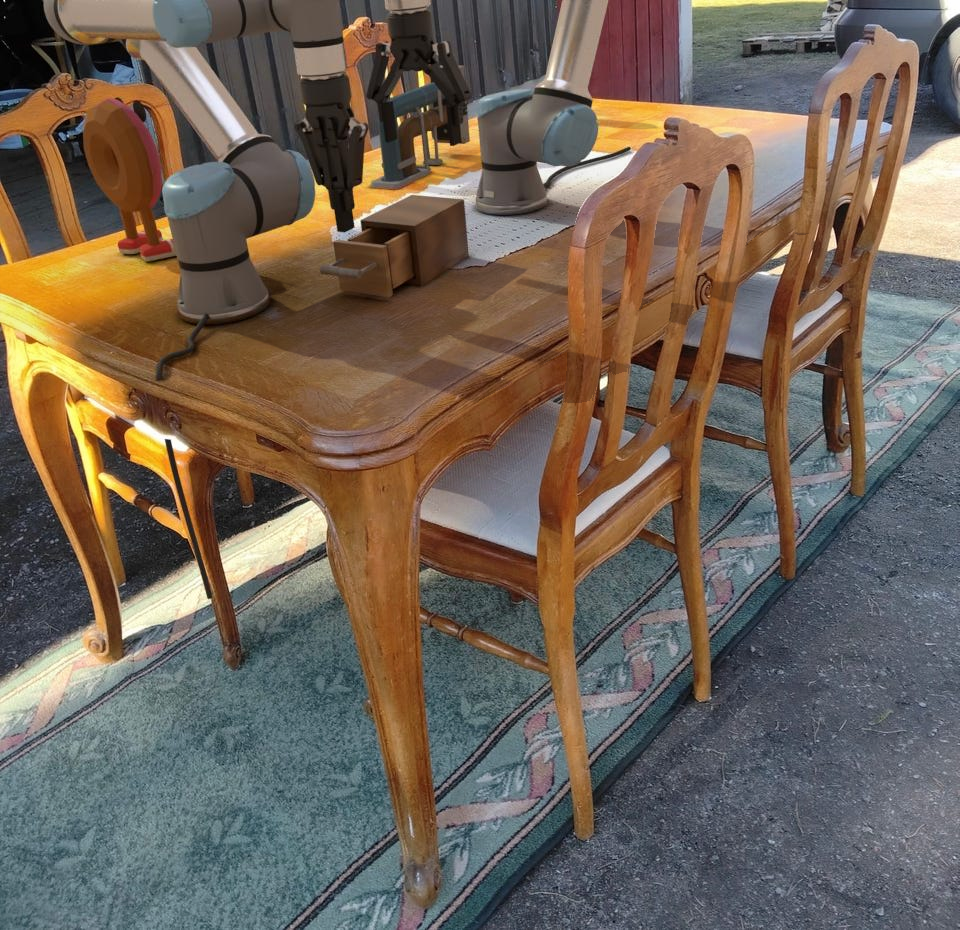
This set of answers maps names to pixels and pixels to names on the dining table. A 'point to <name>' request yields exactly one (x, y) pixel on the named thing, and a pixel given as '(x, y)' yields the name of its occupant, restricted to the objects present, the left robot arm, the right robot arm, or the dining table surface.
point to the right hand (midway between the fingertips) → (423, 142)
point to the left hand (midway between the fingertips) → (346, 229)
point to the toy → (127, 172)
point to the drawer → (373, 261)
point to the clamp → (416, 134)
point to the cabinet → (427, 232)
